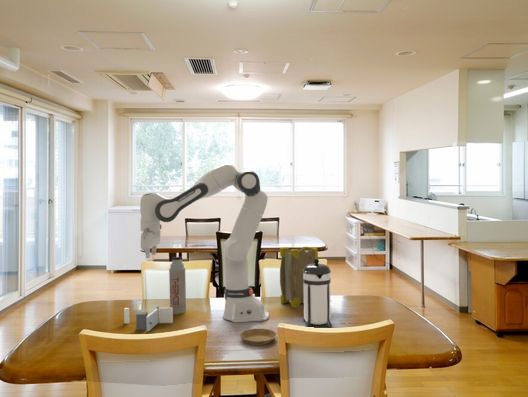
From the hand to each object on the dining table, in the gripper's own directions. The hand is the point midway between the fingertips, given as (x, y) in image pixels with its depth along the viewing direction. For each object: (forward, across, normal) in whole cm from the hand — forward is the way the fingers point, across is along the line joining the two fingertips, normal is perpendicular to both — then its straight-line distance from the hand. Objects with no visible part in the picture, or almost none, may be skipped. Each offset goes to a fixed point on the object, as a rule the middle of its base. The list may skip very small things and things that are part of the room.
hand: (150, 256), depth 201 cm
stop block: (+31, -10, +2) cm, 33 cm away
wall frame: (+31, -2, +1) cm, 31 cm away
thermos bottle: (+31, +15, -9) cm, 36 cm away
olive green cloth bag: (+31, +30, -72) cm, 84 cm away
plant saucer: (+32, -26, -51) cm, 65 cm away
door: (+31, -9, -3) cm, 32 cm away
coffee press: (+31, -5, -77) cm, 83 cm away
